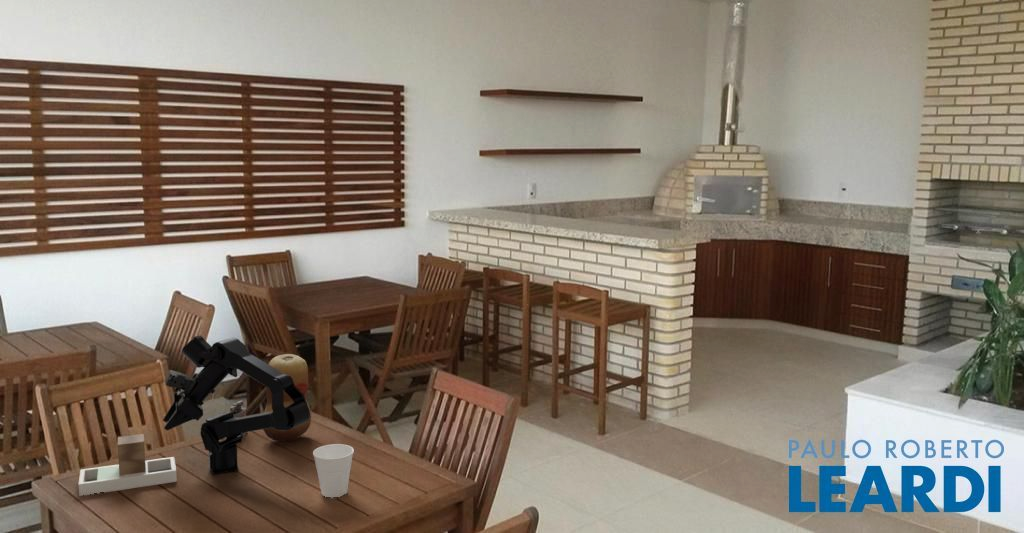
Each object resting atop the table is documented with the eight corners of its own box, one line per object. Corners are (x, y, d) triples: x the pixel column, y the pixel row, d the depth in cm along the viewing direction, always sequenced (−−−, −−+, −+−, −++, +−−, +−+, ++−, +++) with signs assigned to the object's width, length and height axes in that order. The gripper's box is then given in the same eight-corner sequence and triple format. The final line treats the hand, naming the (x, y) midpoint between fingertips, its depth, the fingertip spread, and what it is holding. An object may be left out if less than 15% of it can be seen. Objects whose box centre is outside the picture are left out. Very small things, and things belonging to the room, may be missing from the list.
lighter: (235, 441, 238) (234, 408, 236) (225, 440, 239) (223, 407, 237) (249, 431, 246) (248, 399, 244) (239, 431, 246) (238, 398, 245)
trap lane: (174, 467, 219) (174, 456, 218) (176, 481, 210) (176, 470, 209) (81, 480, 209) (80, 469, 209) (79, 496, 200) (78, 484, 200)
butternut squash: (286, 452, 230) (283, 365, 226) (253, 442, 237) (250, 358, 233) (322, 437, 242) (320, 354, 238) (289, 428, 249) (287, 348, 245)
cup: (319, 505, 197) (318, 461, 195) (309, 489, 206) (308, 447, 204) (359, 497, 201) (359, 454, 200) (348, 482, 210) (347, 441, 208)
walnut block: (145, 463, 213) (143, 433, 212) (145, 471, 208) (144, 441, 207) (119, 466, 211) (117, 437, 210) (119, 475, 206) (117, 444, 204)
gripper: (181, 351, 219) (138, 396, 216) (186, 368, 203) (140, 417, 200) (214, 376, 224) (172, 421, 221) (221, 396, 207) (176, 444, 204)
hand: (164, 425), depth 211 cm, fingers open, 6 cm apart
